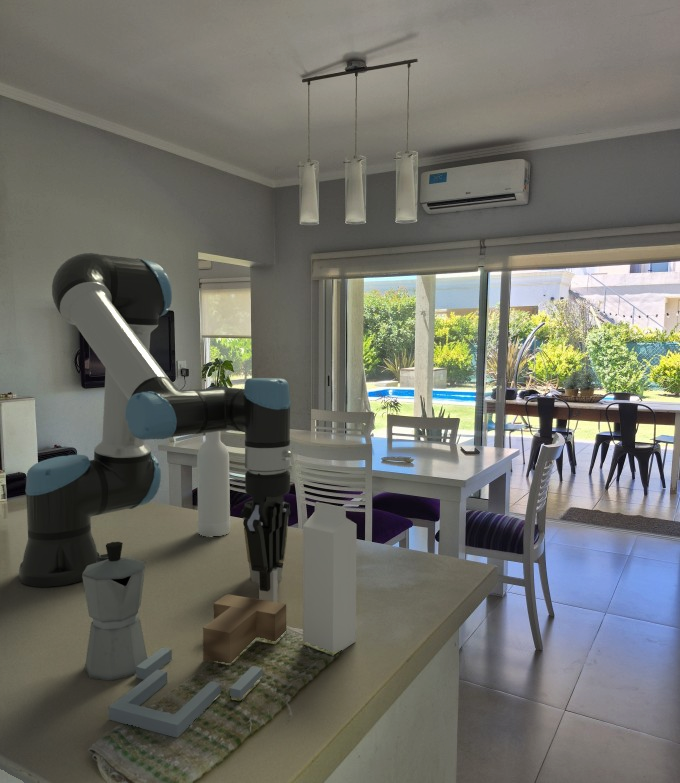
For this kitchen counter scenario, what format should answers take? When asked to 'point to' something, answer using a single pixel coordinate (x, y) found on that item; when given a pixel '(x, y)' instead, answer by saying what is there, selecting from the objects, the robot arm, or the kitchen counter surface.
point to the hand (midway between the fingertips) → (268, 606)
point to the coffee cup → (254, 574)
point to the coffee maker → (114, 615)
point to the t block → (241, 626)
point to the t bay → (155, 679)
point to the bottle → (213, 487)
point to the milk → (329, 578)
